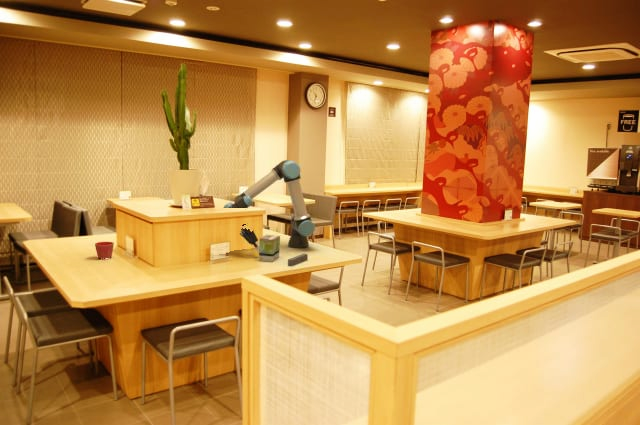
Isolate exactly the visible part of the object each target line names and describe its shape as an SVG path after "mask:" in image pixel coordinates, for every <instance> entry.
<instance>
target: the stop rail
mask: <svg viewBox="0 0 640 425" xmlns="http://www.w3.org/2000/svg"><path fill="white" fill-rule="evenodd" d="M308 256H309V255H308V253H301V254H298V255H296V256H294V257H291V258H288V259H287V266H288V267H294V266H297V265H299V264H301V263H304V262H307V261H308V258H309V257H308Z"/></svg>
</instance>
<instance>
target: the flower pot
mask: <svg viewBox="0 0 640 425" xmlns="http://www.w3.org/2000/svg"><path fill="white" fill-rule="evenodd" d="M114 245H115V244H114V242H113V241H100V242H99V241H98V242H96V243H94V246H95V251H96V255H97V258H110V257H111V258H112V256H113V251H114ZM111 258H110V259H111Z"/></svg>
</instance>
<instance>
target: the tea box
mask: <svg viewBox="0 0 640 425" xmlns="http://www.w3.org/2000/svg"><path fill="white" fill-rule="evenodd" d="M258 241H259V242H258V244H259V252H258V261H259V262H260V261H261V262H262V261H263V262H274V261H275V260H277V259H278V258H280V248H281V246H280V245H281V243H280V242H281V235H276V234H265V235H262V236H261V237H260V238H259V240H258Z"/></svg>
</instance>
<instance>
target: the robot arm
mask: <svg viewBox="0 0 640 425" xmlns="http://www.w3.org/2000/svg"><path fill="white" fill-rule="evenodd" d="M282 179H283V182H284V183H285V184H287V187H288V192H289V196H290V200H291V204H292V207H293V211H294V214H295V215H291V217H290V237H289V240H288V243H287V247H289V248H292V249H296V248H297V249H305V248H308V247H309V246H310V243H309V240H308V237H310V236H311V235H312V234H314V231H315V229H316V227H315V223H314V222H313V221H312V218H311V214H309V213H308V210H307V206H306V203H305V199H304V195H303V191H302V185H301V183H300V181H301V167H300V165H299V164H298V163H297V162H296V161H294V160H287V159H286V160H282V161H281V162H279V163H278V164H276V165H275V166H274V167H272V169H271V171H270V172H269V173H267V174H266V175H264V176H263V177H262V178H260V179H259V180H258V181H257V182H255V183H254V184H253V185H251V186H250V187H249V188H247V189H246V190H245V191H243V192H242V193H240V194H239V195H236V196H234V198H233V201H234V203H233V202H228V203H226V204H225V205H224V206H223V208H247V209H248V208H249V207H251V206H253V204H254V200H253V199H255V198H256V197H258V195H260V194H261V193H262V192H264V191H265V190H266V189H268V188H269V187H271V186H272V185H273V184H274V183H276V182H277V181H281V180H282ZM244 225H246V224H243V225H242V226H244ZM250 229H251V228H250ZM250 229H248V230H247V229H246V228H245V229H243V228H242V229H241V231H240V233H239V235H240V236H241V237H242V238H243V239H244V240H245V241H246V242H247V243H248V244H249V245H251V246H253V247H254V248H255V249H256V251H258V253H259V242H258V241H259V239H258V237H257V235H256V233H255V231H254V230H253V231H252V232H251V231H250Z"/></svg>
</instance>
